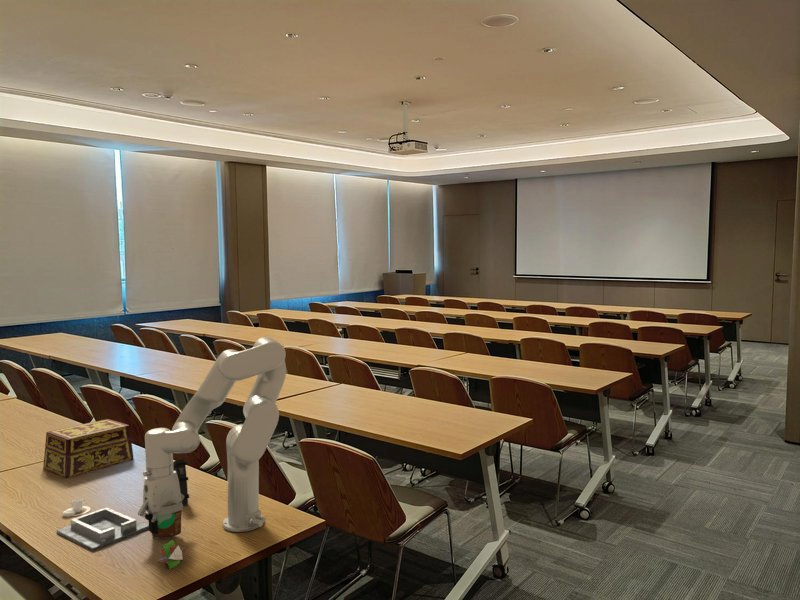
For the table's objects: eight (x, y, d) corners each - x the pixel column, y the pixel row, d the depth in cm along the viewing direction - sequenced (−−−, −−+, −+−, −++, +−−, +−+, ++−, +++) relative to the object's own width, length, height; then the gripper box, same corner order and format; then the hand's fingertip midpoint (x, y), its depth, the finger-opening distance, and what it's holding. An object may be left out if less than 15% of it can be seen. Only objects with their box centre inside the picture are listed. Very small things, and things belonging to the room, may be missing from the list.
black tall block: (180, 506, 199) (174, 460, 203) (171, 510, 209) (166, 466, 213) (191, 503, 201) (185, 458, 205) (182, 507, 211) (176, 464, 216)
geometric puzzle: (147, 560, 162) (160, 540, 160) (165, 548, 168) (178, 530, 166) (164, 579, 160) (177, 560, 158) (181, 567, 167) (195, 548, 164)
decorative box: (110, 451, 260) (109, 417, 259) (134, 460, 249) (133, 424, 248) (42, 469, 237) (41, 431, 237) (66, 479, 227) (65, 440, 226)
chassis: (149, 528, 186) (149, 517, 185) (92, 551, 171) (92, 539, 170) (113, 513, 197) (113, 502, 196) (56, 533, 182) (56, 522, 181)
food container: (137, 535, 179) (135, 503, 178) (153, 526, 185) (151, 495, 184) (169, 543, 174) (167, 510, 173) (184, 533, 180) (183, 502, 179)
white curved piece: (65, 520, 192) (64, 508, 191) (57, 513, 197) (56, 500, 197) (94, 512, 198) (94, 500, 198) (85, 505, 203) (85, 493, 203)
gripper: (141, 482, 169) (144, 544, 170) (192, 463, 183) (195, 521, 185) (125, 477, 173) (129, 537, 175) (177, 459, 187) (179, 515, 189)
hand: (163, 528), depth 180 cm, fingers closed on food container, 5 cm apart
